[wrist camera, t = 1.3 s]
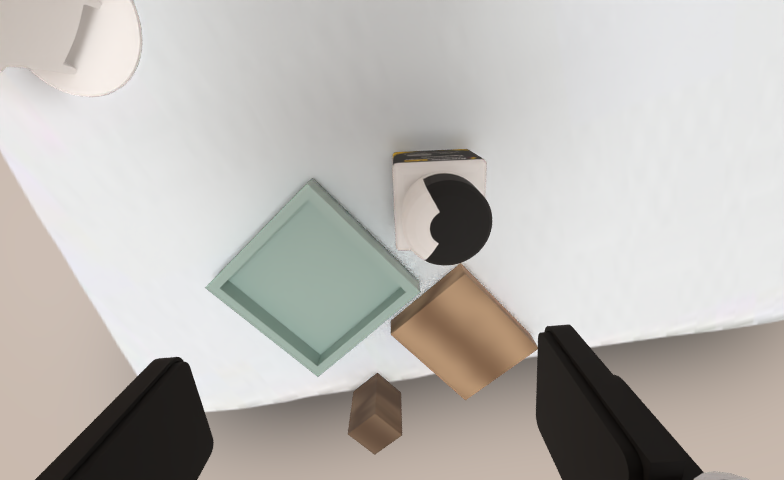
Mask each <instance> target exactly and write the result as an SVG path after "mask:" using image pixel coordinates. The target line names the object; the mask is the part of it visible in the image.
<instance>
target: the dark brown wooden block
mask: <svg viewBox="0 0 784 480" xmlns="http://www.w3.org/2000/svg"><path fill="white" fill-rule="evenodd" d="M401 415H402V413H401V392H400V391H398V390H397V389H396V388H395V387H393V386H392V385H391V384H390V383H389V382H388V381H386V380H385V379H384V378H383V377H382V376H380V375H379V374H378V373H377V374H375V375H374V376H373V377H372V378H370V379H369V380H368V381H367V382H365V383H364V384H363V385H361V386H360V387H359V388H358V389H356V390H355V391H354V392H353V399H352V407H351V413H350V421H349V429H348V435H350V436H351V437H352V438H353V439H355V440H356V441H357V442H359V443H360V444H361V445H363V446H364V447H365V448H367V449H368V450H369V451H371V452H372V453H373V454H376V453H378V452H379V451H381V450H382V449H383V448H385V447H386V446H388V445H389V444H390V443H392V442H393V441H395V440H396V439H398V438H399V437H400V436H402V416H401Z"/></svg>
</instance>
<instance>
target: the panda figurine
mask: <svg viewBox="0 0 784 480" xmlns="http://www.w3.org/2000/svg"><path fill="white" fill-rule="evenodd" d="M141 51H142V31H141V24H140V20H139V16H138V13H137V10H136V7H135V5H134V2H133V0H0V73H1V72H2V71H3V70H5V69H6V68H7V67H18V68H28V69H29V70H30V71H31V72H32V73H34V74H35V75H36V76H37V77H38V78H40V79H41V80H42V81H44V82H45V83H47V84H49V85H50V86H52V87H54V88H56V89H58V90H60V91H63V92H65V93H68V94H72V95H77V96H85V97H96V96H103V95H107V94H110V93H112V92H115V91H116V90H118V89H120V88H121V87H122V86H124V85H125V84H126V83H127V82H128V81H129V80H130V78H131V77H132V76H133V74H134V72H135V71H136V69H137V66H138V64H139V61H140V57H141Z"/></svg>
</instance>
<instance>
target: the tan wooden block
mask: <svg viewBox="0 0 784 480" xmlns="http://www.w3.org/2000/svg"><path fill="white" fill-rule="evenodd" d="M391 335H392V336H393V337H394V338H395V339H396V340H398V341H399V342H400V343H401V344H402V345H403V346H404V347H405V348H407V349H408V350H409V351H410V352H411V353H412V354H413V355H415V356H416V357H417V358H418V359H419V360H420V361H421V362H422V363H424V364H425V365H426V366H427V367H428V368H429V369H430V370H432V371H433V372H434V373H435V374H436V375H437V376H438V377H440V378H441V379H442V380H443V381H444V382H445V383H446V384H447V385H449V386H450V387H451V388H452V389H453V390H454V391H455V392H457V393H458V394H459V395H460V396H461V397H462V398H463V399H465V400H467V399H468V398H469V397H471V396H472V395H474V394H475V393H476V392H478V391H479V390H481V389H482V388H484V387H485V386H486V385H488V384H489V383H491V382H492V381H493V380H495V379H496V378H498V377H499V376H500V375H502V374H503V373H505V372H506V371H508V370H509V369H510V368H512V367H513V366H515V365H516V364H517V363H519V362H520V361H521V360H523V359H525V358H526V357H527V356H529V355H530V354H532V353H533V352H534V351H536V350H537V349H538V347H537V345H536V343H535V342H534V340H533V338H532V336H531V335H530V334H529V333H528V332H527V331H526V330H525V328H524V327H523V326H522V325H521V324H520V323H519V322H518V321H517V320H516V319H515V318H514V317H513V316H512V315H511V314H510V313H509V312H508V311H507V310H506V309H505V308H504V307H503V306H502V305H501V304H500V303H499V302H498V301H497V300H496V299H495V298H494V297H493V296H492V295H491V294H490V293H489V292H488V291H487V290H486V289H485V288H484V287H483V286H482V285H481V283H480V282H479V281H478V280H477V279H476V278H475V277H474V276H473V275H472V274H471V273H470V272H469V271H468V270H467V269H466V268H465V267H464V266H463V265H462V264H461V263H460V264H459V265H458V266H457V267H455V268H454V269H453V270H452V271H451V272H449V273H448V274H447V275H446V276H444V277H443V278H442V279H441V280H440V281H438V282H437V283H436V284H435V285H434V286H432V287H431V288H430V289H429V290H428V291H426V292H425V293H424V294H423V295H421V296H420V297H419V298H418V299H417V300H415V301H414V302H413V303H412V304H411V305H409V306H408V307H407V308H406V309H405V310H403V311H402V312H401V313H400V314H398V315H397V316H396V317H395V318H394V319H392V320H391Z"/></svg>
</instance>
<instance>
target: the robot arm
mask: <svg viewBox="0 0 784 480" xmlns="http://www.w3.org/2000/svg"><path fill="white" fill-rule="evenodd" d="M536 420H537V425H538V428H539V431H540V433H541V435H542V437H543V439H544V441H545V444H546V446H547V448H548V450H549V452H550V454H551V457H552V458H553V461H554V463H555V465H556V467H557V469H558V472H559V474H560V476H561V478H562V480H749V479H747V478H743V477H740V476H737V475H734V474H731V473H723V472H708V473H704V472H703V471H702V470H701V469H700V468H699V466H698V465H697V464H696V463H695V462H694V461H693V460H692V458H691V457H690V456H689V455H688V454H687V453H686V452H685V451H684V449H683V448H682V447H681V446H680V445H679V444H678V442H677V441H676V440H675V439H674V438H673V437H672V436H671V434H670V433H669V432H668V431H667V430H666V429H665V427H664V426H663V425H662V424H661V423H660V422H659V421H658V419H657V418H656V417H655V416H654V415H653V414H652V413H651V411H650V410H649V409H648V408H647V407H646V406H645V404H644V403H643V402H642V401H641V400H640V399H639V398H638V397H637V395H636V394H635V393H634V392H633V391H632V390H631V388H630V387H629V386H628V385H627V384H626V383H625V382H624V381H623V380H622V379H621V378H620V377H619V376H616V375H613V374H612V373H611V372H610V371H609V369H608V368H607V367H606V366H605V365H604V364H603V362H602V361H601V360H600V359H599V358H598V357H597V355H595V353H594V352H593V351H592V350H591V348H590V347H589V346H588V345H587V344H586V342H585V341H584V340H583V339H582V338H581V336H580V335H579V334H578V333H577V332H576V331H575V329H574V328H573V327H572V326H571V325H558V326H547V327H546V328H545V332H542V333H539V335H538V360H537V396H536ZM212 449H213V437H212V434H211V431H210V428H209V424H208V421H207V418H206V415H205V412H204V409H203V406H202V403H201V400H200V397H199V393H198V390H197V387H196V384H195V381H194V378H193V375H192V372H191V369H190V366H189V364H188V363H187V362H184V361H183V360H182V359H181V358H180V357H171V358H159V359H155V360H154V361H152V362H151V363H150V364H149V365H148V366H147V367H146V368H145V369H144V370H143V371H142V372H141V373H140V374H139V375H138V376H137V377H136V378H135V380H134V381H132V382H131V383H130V385H129V386H127V387H126V389H125V390H124V391H123V392H122V393H121V394H120V395H119V396H118V397H117V398H116V399H115V400H114V401H113V402H112V403H111V404H110V405H109V406H108V407H107V408H106V409H105V410H104V411H103V412H102V413H101V414H100V415H99V416H98V417H97V418H96V419H95V420H94V421H93V422H92V423H91V424H90V425H89V426H88V427H87V428H86V429H85V430H84V431H83V432H82V433H81V434H80V435H79V436H78V437H77V438H76V439H75V440H74V441H73V442H72V443H71V444H70V445H69V446H68V447H67V448H66V449H65V450H64V451H63V452H62V453H61V454H60V455H59V456H58V457H57V458H56V459H55V460H54V461H53V462H52V463H51V464H50V465H49V466H48V467H47V468H46V469H45V471H43V472H42V473H41V474H40V475H39V476H38V477H37V478H36V479H35V480H197V479H198V477H199V475H200V474H201V472H202V470H203V468H204V466H205V464H206V462H207V461H208V459H209V457H210V455H211V452H212Z"/></svg>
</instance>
